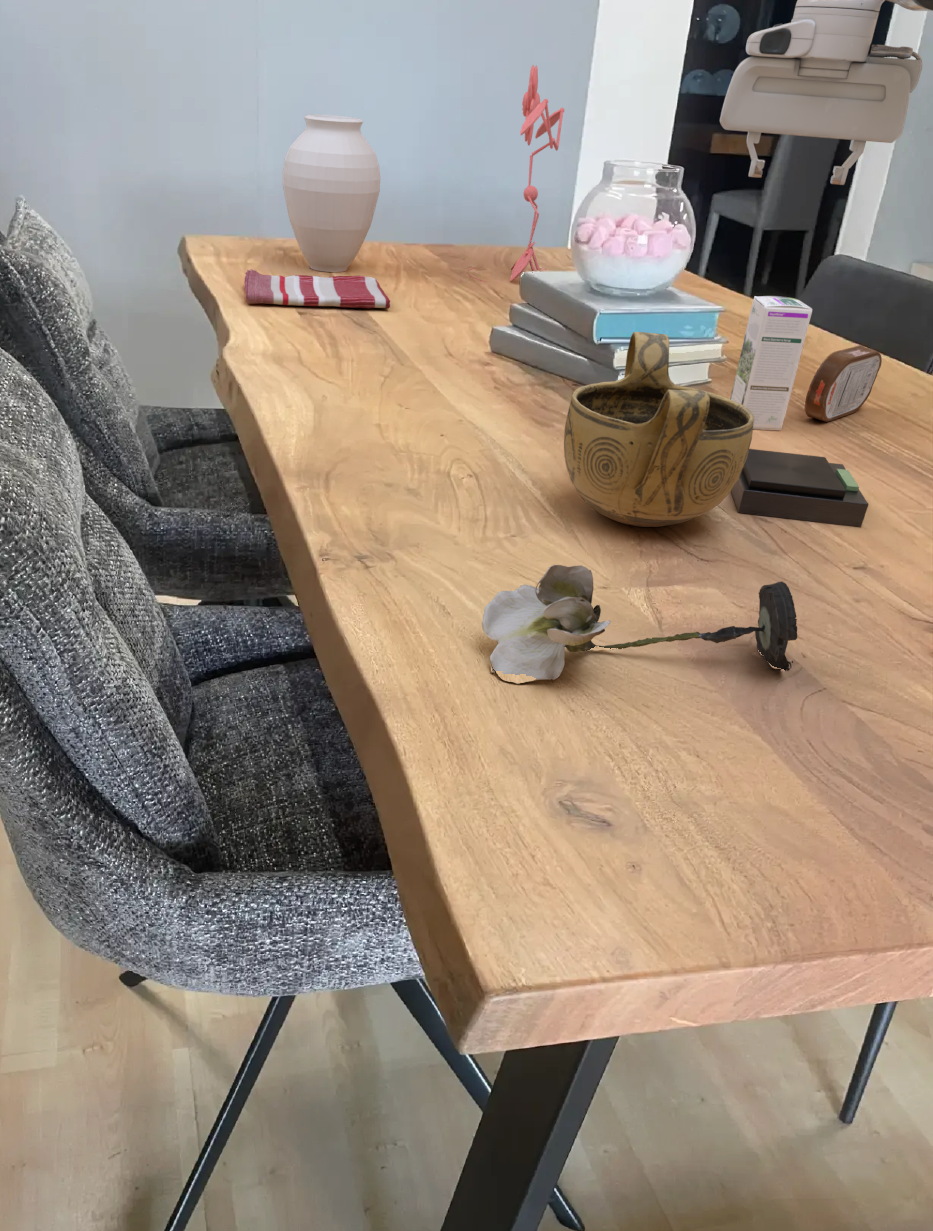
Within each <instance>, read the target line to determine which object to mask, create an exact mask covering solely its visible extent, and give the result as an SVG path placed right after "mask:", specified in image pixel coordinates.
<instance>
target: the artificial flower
mask: <svg viewBox="0 0 933 1231" xmlns="http://www.w3.org/2000/svg"><path fill="white" fill-rule="evenodd" d="M593 594H594V576H593V572H592V570H591V569H589V568H588V567H586V566H584V565H571V566H566V565H562V564H552V565H551V566H548V568H547V570H546V571H545V573H544V574H543V575H542V577H540V578H539V580H538V582H537V584H536V586H533V585H531V584H521V585H520V586H519V587H518V588H516V589H514V590H500V591H498V592H497V593H496V594H495V596H494V597H493V598H492V599H491V601H489V602H488V603H487V604H486V605H485V606H484V610H483V614H482V621H481V628H482V631H483V633H484V634H485V636H487V637H488V638H489V639H490V640H492V641H495V642H497V645H496V646H495V647H494V649H493V651H492V653H491V654H490V656H489V660H490V664H491V668H492V667H493V668H492V670H493V669H494V670H495V671H503V672H502V673H503V674H515V675H520V674H526V676H532V677H534V678H536V680H535V681H538V680H551V679H553V680H556V679H558V678H559V677H560V676H561V674H562V673H563V670H564V667H565V664H566V663H565V658H566V655H565V653H566V652H565V648H566V650H567V651H568V652H569V653H578V652H588V651H587V650H590V649H591V648H594V647H595V646H599V647H604V648H610V649H611V648H616V649H617V648H618V650H623V649H627V648H638V647H645V646H648V645H652V644H658V643H662V642H668V643H673V642H675V641H688V640H691V639H702V640H703V641H706V642H707V641H708V642H712V643H715V644H720V643H725V642H729V641H731V640H736V639H737V638H740V637H743V636H744V635H750V634H753V633H754V635H755V641H756V650H757V649H758V650H759V652H761V654H762V655H764V656H763V658H764V661H765V660H766V661H768V662H769V663H770V664H771V665H772V666H774V667H777V668H781V669H784V670H785V672H789V671H790V670H791V669H792V667H793V666H792V664H794V661H793V660H791V662H790V661H789V660H788V658H787V655H786V652H787V648H788V644H789V641H796V640H798V626H797V625H798V624H797V620H798V619H797V612H796V607H795V602H794V598H793V595H792V592H791V590H790V588H789V586H788V585H787V583H786V582H784V581H777V582H775V583H772V584H764V585H762V586H761V587H760V589H759V591H758V598H759V606H758V608H759V609H758V616H759V617H758V619H757V626H748V627H744V626H735V625H732V626H727V627H722V628H720V629H718V630H717V631H714V632H710V631H707V632H702V633H701V632H699V631H695V632H684V633H676V634H674V635H673V636H671V635H670V636H669V635H668V636H665V637H661V636H659V637H657V636H655V637H645V638H643V639H637V640H635V641H631V642H630V641H628V642H624V643H615V644H610V645H609V644H608V645H607V644H606V645H597V644H595V643H593V641H592V640H593V639H594V638H595V637H597V636H600V635H602V634H603V633H605V631H606V630H605V629H607V628H608V626H609V625H610V624H611V622H612V620H610V619H608V620H605V621H604V620H603V621H599V620H600V618H601V613H602V609H601V605H600V604H596V605H595V606H594V607H593V605H592V604H593ZM622 648H623V649H622ZM585 650H586V651H585ZM758 650H757V651H758ZM766 661H765V662H766ZM768 662H767V663H768ZM494 670H493V671H494ZM495 671H494V672H495ZM553 680H552V681H553Z"/></svg>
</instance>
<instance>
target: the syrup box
mask: <svg viewBox="0 0 933 1231" xmlns="http://www.w3.org/2000/svg"><path fill="white" fill-rule="evenodd" d="M812 314H813V308H812V307H811V306H809V305H807V304H806V303H804V302H803V301H801V300H800V299H798V298H795V297H787V296H779V295H763V296H762V295H761V296H756V295H754V297H753V299H752V304H751V307H750V312H749V315H748V319H747V325H746V328H745V334H744V336H743V337H744V338H743V341H742V346H741V351H740V355H739V360H738V364H737V369H736V372H735V376H734V381H733V385H732V390H731V392H730V393H731V394H730V398H729V399H730V400H733V401H735V402H738V403H740V404H742V405H743V406H745V407H746V408H748V409H749V410H750V411H751V412H752V413H753V415H754V422H753V430H764V431H780V432H781V431H782V429H783V426H784V421H785V418H786V414H787V411H788V406H789V403H790V400H791V395H792V392H793V389H794V385H795V380H796V376H797V372H798V368H799V365H800V360H801V357H802V353H803V349H804V344H805V340H806V336H807V333H808V328H809V325H810V321H811V317H812Z"/></svg>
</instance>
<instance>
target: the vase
mask: <svg viewBox="0 0 933 1231" xmlns="http://www.w3.org/2000/svg"><path fill="white" fill-rule="evenodd" d="M303 119H304V121H305V129H304V130H303V131H302V132H301V133H300V134H299V136H297V138H296V139H295V140H294V141H293V142H292V144H291V145H290V146H289V147H288V150H287V153H286V156H285V158H284V162H283V167H282V188H283V189H282V190H283V194H284V200H285V204H286V210H287V215H288V216H287V217H288V219H289V223H290V226H291V229H292V232H293V234H294V237H295V240H296V242H297V244H298V247H299V250H300V252H301V253H302V255H303V257H304V259H305V260H306V262H307V264H308V266H309V268H310V269H311V270H314V271H318V272H325V273H326V272H327V273H343V272H346V271H348V269H349V267H350V266H351V265H352V263H353V262H354V260H355V259H356V257H357V256H358V254H359V252H360V250H361V248H362V246H363V244H364V242H365V240H366V237H367V235H368V233H369V231H370V228H371V226H372V222H373V217H374V215H375V211H376V207H377V203H378V200H379V195H380V190H381V171H380V164H379V161H378V158H377V154H376V151H375V150H374V149H373V148H372V146H371V145H370V143H369V142H368V140H367V139H366V138H365V137H364V136H363V134H362V131H361V128H362V125H363V123H364V121H363V120H362V119H361V118H359V117H355V116H346V115H337V114H322V113H321V114H320V113H319V114H318V113H317V114H315V113H311V114H306V115H305V116H303Z"/></svg>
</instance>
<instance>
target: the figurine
mask: <svg viewBox="0 0 933 1231" xmlns="http://www.w3.org/2000/svg"><path fill="white" fill-rule="evenodd" d="M538 69H539V68H538V66H537V65H534V64H532V65H531V67H530V71H529V72H530V73H529V78H528V79H529V80H528V87H527V91H526V92H525V93H524V94H523V98H522V103H521V105H522V109H521V110H522V115H523V117H524V118H525V119H524V122H523V124H522V126H521V129H520V134H519V135H520V136H523V135H524V142H525V143H527V146H530V145H531V144H532V139H533V134H534V127H535V125H534V124H535V123H536V122H537V121H538V120H539V118H541V119H542V123H541V124H540V126H539V127H538V129H537V131H536V132H535V136H534V138H535V139H538V138H540V137H541V136H542V135H544V134H545V133H546V134H547V135H548V143H545V144H543V146H541V147H539V148H537V149H536V150H534V151H533V152H531V154H530V155H529V168H528V172H529V173H528V185H527V186H526V188H524V190H523V198H524V200H525V201H526V202H528V203H530V204H531V206H532V208H533V211H534V214H533V219H532V226H531V230H530V237H529V241H528V244H527V249H526V250H525V251H524V252H523V253H522V254H521V255H520V256H519V258H518V259H517V260H516V261H515V263H514V264H513V265H512V267H511V268H510V270H511V276H510V280H509V281H510V282H511V283H512V282H513V281H514V280H516V279H517V278H518V277H519V276H521V274H522V273H523V272H524V271H525V269H527V267H528V265H529V266H530V268H531V272H532V271H535V272H536V271H537V270H540V271H541V270H544V271H546V270H547V268H541V267H539V266H540V265H539V263H538V260H537V256H536V254H535V250H534V245H535V244H536V242H535V241H533V237H534V234H535V230H536V227H537V224H538V220H539V216H540V213H539V211H538V204H537V203H536V200H537V199H538V196H539V193H538V192H539V191H538V189H537V187H536V186H534V185H532V173H533V161H534V156H536V155H537V154H538V153H540V152H541V151H543V150H544V149H546V148H548V147H549V148H550V150H552V149H553V148H554V150H555V151H556V152H557V151H558V150H559V146H560V139H561V130H562V124H563V117H564V112H565V108H564V107H560V108H559V109H558V110H556V111H554V112H552V114H550V112H549V106H548V104H549V100H548V98H544V99H543V101H541V96H540V94H539V92H538V88H539V75H538V74H539V70H538ZM544 111H545V112H544ZM557 123H558V125H557V126H558V129H557V135H556V139H555V138H554V137H553V135H552V128H553V127H554V126H555V125H556V124H557ZM532 241H533V242H532ZM532 259H533V260H532ZM477 268H478V267H477V266H476V267H475V266H474V267H472V268H470V269H468V271H467V272H469V271H471V270H473V269H477ZM467 275H468V278H472V279H474V280H478V281H481V282H483V283H484V282H485V283H487V280H482V279H479V278H477V277H474V276H472V275H471V274H469V273H467Z"/></svg>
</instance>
